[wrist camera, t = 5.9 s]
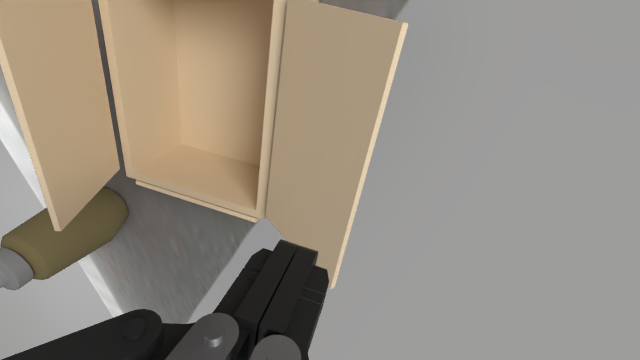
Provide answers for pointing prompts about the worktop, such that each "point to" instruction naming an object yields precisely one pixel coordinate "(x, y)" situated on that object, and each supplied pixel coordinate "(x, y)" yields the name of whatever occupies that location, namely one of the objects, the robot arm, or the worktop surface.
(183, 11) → the carton
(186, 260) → the worktop surface
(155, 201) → the worktop surface
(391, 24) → the flap
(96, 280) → the worktop surface
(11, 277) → the squeeze bottle
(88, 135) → the flap
